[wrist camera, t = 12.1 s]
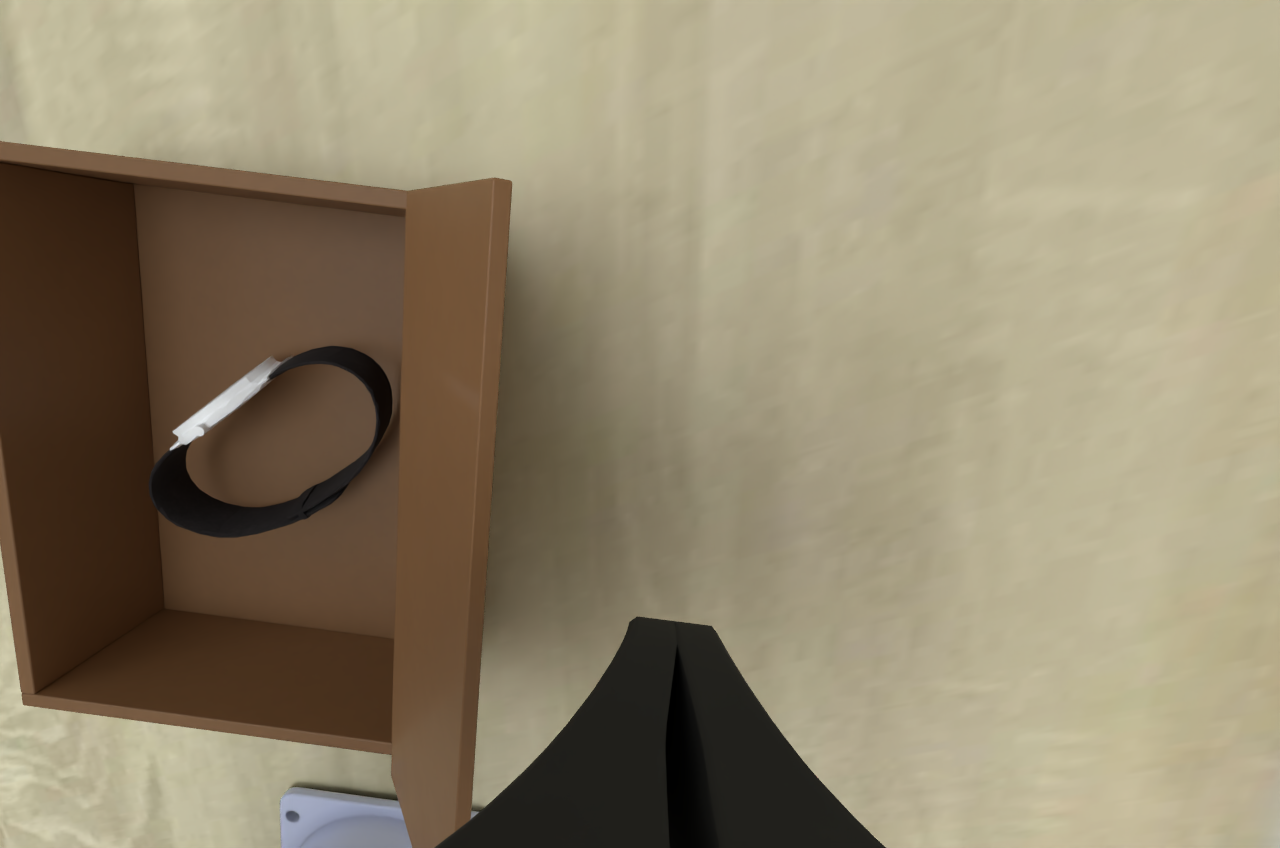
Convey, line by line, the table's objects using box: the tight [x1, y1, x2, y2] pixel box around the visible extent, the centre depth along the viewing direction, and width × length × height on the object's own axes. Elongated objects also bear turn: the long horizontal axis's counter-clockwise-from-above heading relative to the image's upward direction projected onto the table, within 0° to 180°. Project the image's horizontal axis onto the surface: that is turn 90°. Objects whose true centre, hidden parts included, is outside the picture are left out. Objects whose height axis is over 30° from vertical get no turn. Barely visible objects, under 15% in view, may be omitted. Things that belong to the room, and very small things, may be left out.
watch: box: [149, 346, 393, 538], centre depth 18 cm, size 8×5×4 cm, turn 124°
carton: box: [0, 141, 407, 755], centre depth 18 cm, size 11×15×5 cm
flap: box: [391, 178, 512, 848], centre depth 13 cm, size 5×15×1 cm
